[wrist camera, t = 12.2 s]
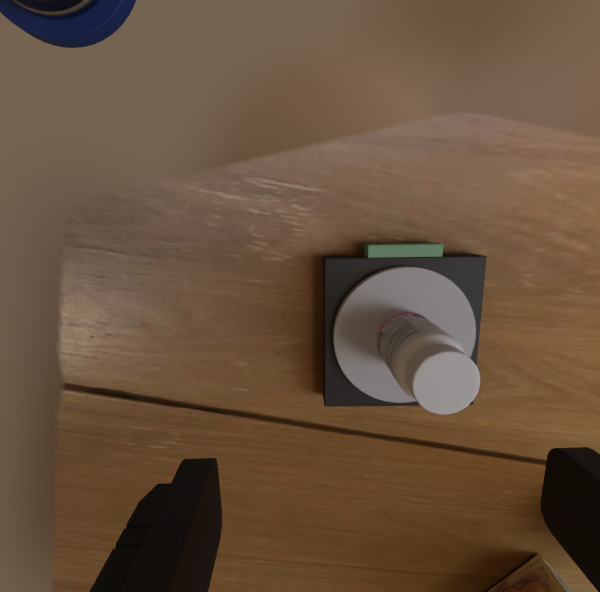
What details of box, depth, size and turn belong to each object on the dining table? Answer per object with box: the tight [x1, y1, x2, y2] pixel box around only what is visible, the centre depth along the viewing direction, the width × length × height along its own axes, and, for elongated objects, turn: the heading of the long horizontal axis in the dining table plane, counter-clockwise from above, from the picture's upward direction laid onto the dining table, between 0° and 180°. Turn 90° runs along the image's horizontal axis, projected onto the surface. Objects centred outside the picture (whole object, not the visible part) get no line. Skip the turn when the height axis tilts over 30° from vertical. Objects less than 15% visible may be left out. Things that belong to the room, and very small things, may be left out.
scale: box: [323, 243, 486, 406], centre depth 30 cm, size 14×13×3 cm
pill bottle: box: [376, 312, 480, 414], centre depth 24 cm, size 5×5×8 cm
